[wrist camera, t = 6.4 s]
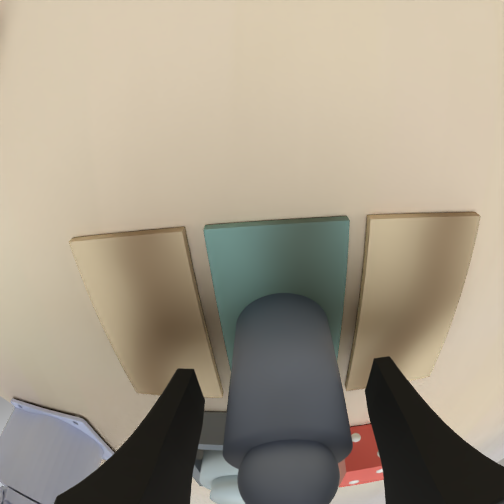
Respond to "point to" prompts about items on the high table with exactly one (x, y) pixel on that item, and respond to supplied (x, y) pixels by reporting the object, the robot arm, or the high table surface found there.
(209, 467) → the dome
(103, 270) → the track
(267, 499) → the pawn
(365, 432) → the red die
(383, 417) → the robot arm
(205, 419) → the dome frame
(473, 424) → the high table surface
